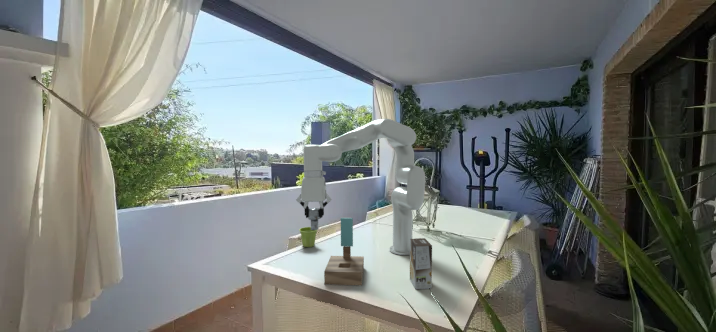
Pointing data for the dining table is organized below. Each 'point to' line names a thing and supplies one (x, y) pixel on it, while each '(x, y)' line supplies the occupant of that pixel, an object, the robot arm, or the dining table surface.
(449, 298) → the dining table surface
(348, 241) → the teal flat block
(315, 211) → the pin
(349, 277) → the block
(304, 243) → the plant pot
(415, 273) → the coffee box
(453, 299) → the dining table surface
